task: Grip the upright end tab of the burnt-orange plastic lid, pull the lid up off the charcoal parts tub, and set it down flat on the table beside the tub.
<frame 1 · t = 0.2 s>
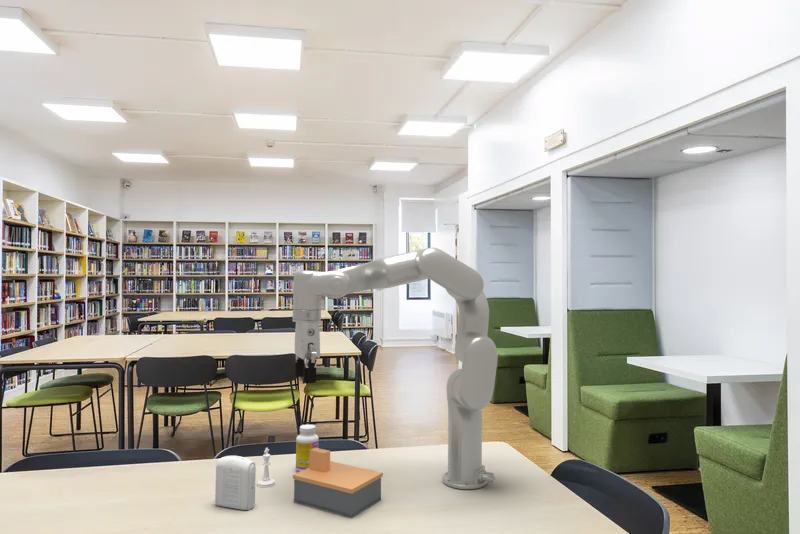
hand: (305, 379, 153), 30 cm above the table, tool pointing down, fingers open, 9 cm apart
lid: (338, 477, 146), point 6 cm above the table, touching tub
chess piece: (266, 484, 157), on the table
tub: (337, 501, 146), on the table
photo printer: (235, 506, 142), on the table
supplement bottle: (307, 470, 169), on the table
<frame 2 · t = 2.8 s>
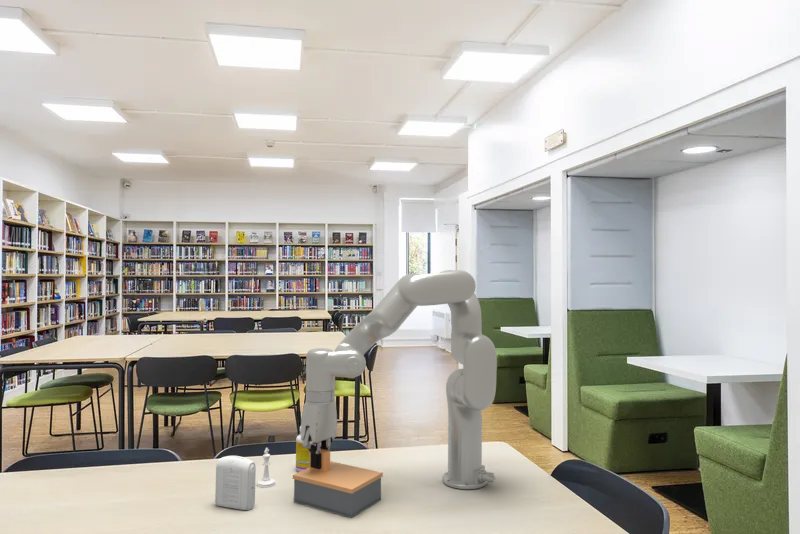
hand: (319, 465, 149), 8 cm above the table, tool pointing down, fingers closed on lid
lid: (338, 477, 146), point 6 cm above the table, touching gripper, tub
everything else where it was.
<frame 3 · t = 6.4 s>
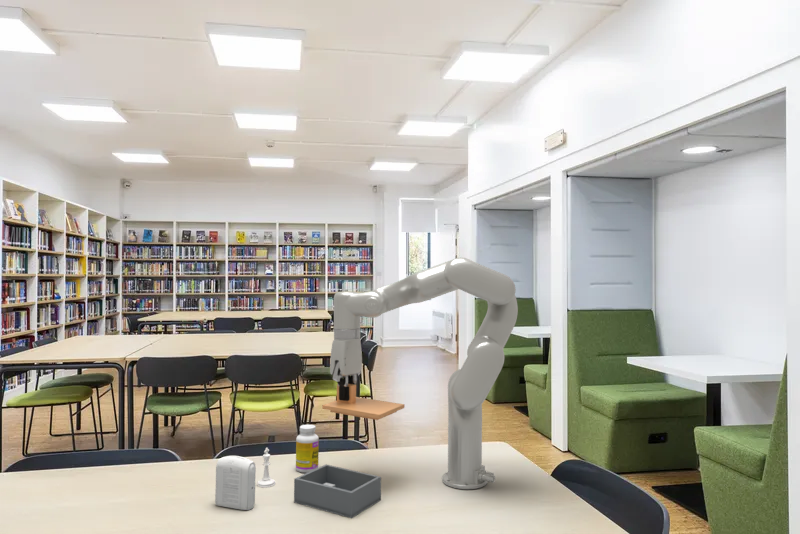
hand: (347, 398, 162), 23 cm above the table, tool pointing down, fingers closed on lid
lid: (363, 408, 159), point 21 cm above the table, touching gripper
everything else where it was.
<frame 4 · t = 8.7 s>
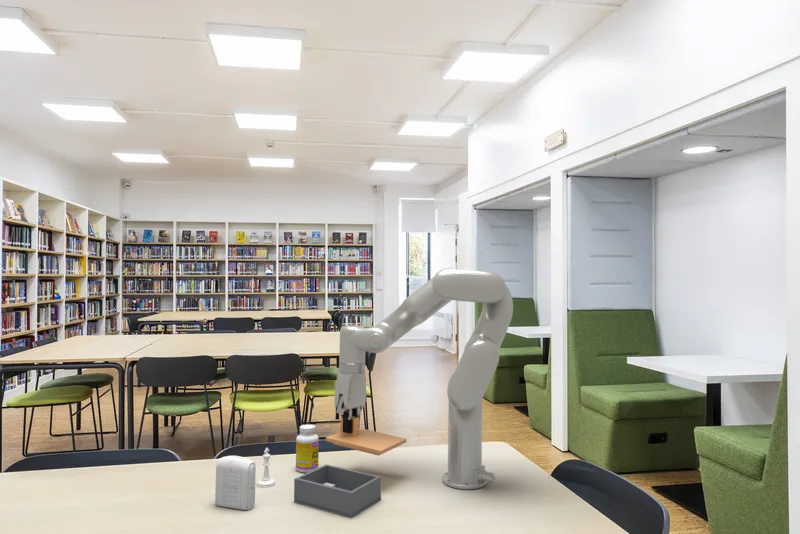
hand: (350, 431, 165), 13 cm above the table, tool pointing down, fingers closed on lid
lid: (366, 441, 162), point 11 cm above the table, touching gripper
everything else where it was.
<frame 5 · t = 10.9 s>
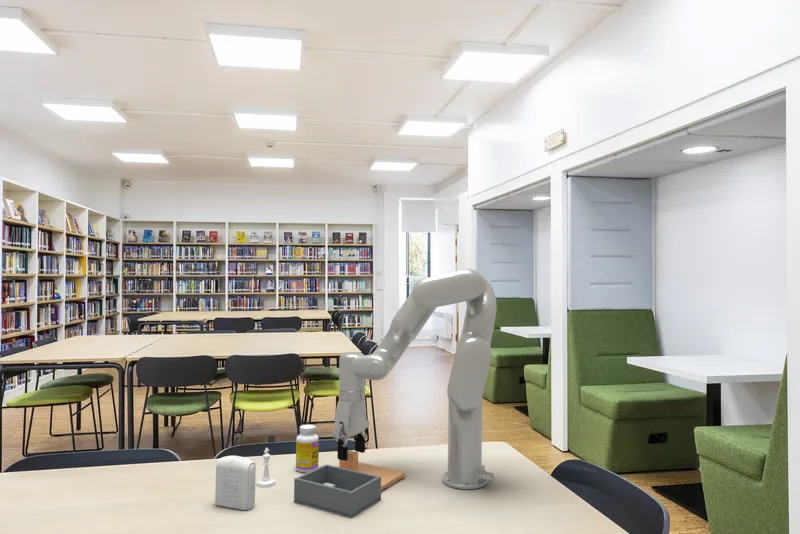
hand: (351, 455, 165), 6 cm above the table, tool pointing down, fingers open, 8 cm apart
lid: (365, 476, 162), point 1 cm above the table
everything else where it was.
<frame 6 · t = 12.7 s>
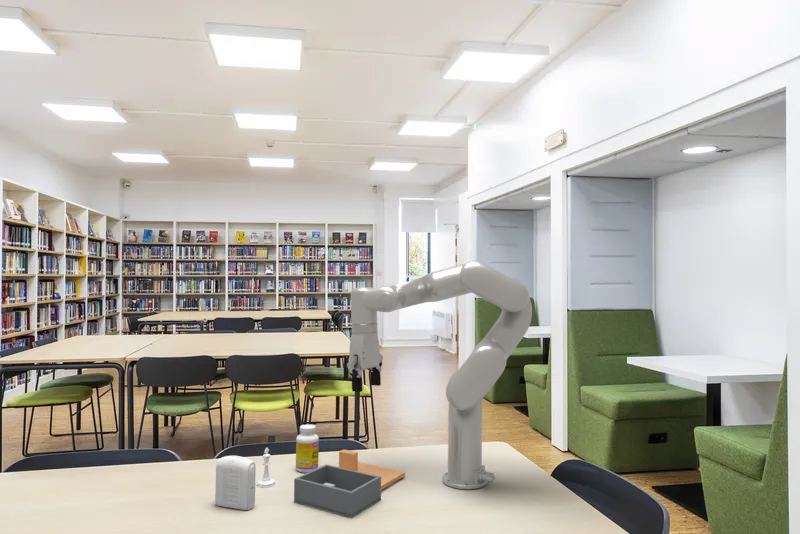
hand: (366, 388, 166), 25 cm above the table, tool pointing down, fingers open, 9 cm apart
nothing on the table moved.
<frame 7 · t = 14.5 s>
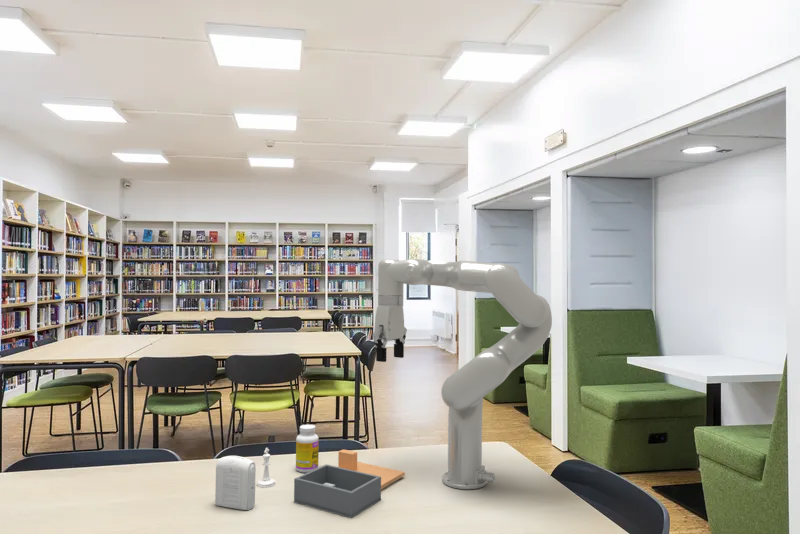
hand: (390, 359, 168), 33 cm above the table, tool pointing down, fingers open, 9 cm apart
nothing on the table moved.
at the end: lid touching table; lid inside the target area (1.3 cm from its centre), point 0.6 cm above the table; the gripper is holding nothing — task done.
